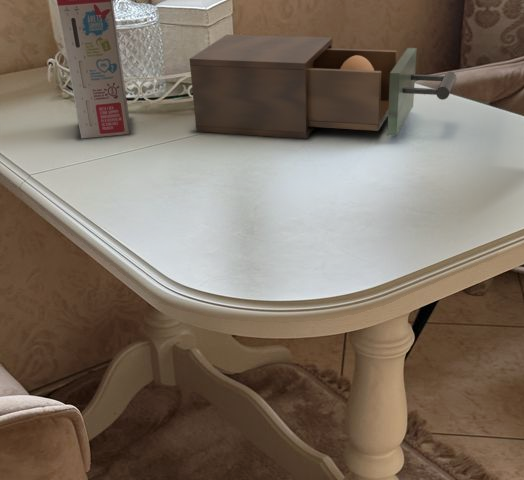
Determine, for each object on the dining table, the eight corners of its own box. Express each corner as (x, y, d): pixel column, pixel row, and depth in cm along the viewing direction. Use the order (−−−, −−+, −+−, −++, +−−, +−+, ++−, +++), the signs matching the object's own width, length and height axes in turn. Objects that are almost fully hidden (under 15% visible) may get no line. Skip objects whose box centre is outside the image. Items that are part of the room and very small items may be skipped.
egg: (327, 112, 106) (327, 58, 102) (349, 101, 109) (350, 48, 105) (362, 118, 103) (363, 63, 99) (383, 107, 106) (385, 53, 102)
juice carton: (129, 118, 114) (105, -51, 101) (130, 133, 108) (104, -44, 96) (82, 123, 113) (53, -48, 101) (81, 138, 108) (49, -40, 95)
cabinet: (332, 107, 114) (332, 37, 108) (306, 138, 103) (305, 63, 98) (231, 101, 118) (226, 34, 113) (196, 131, 108) (189, 58, 102)
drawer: (455, 108, 108) (461, 49, 103) (443, 139, 98) (448, 75, 94) (312, 101, 114) (311, 44, 109) (287, 129, 104) (285, 68, 100)
